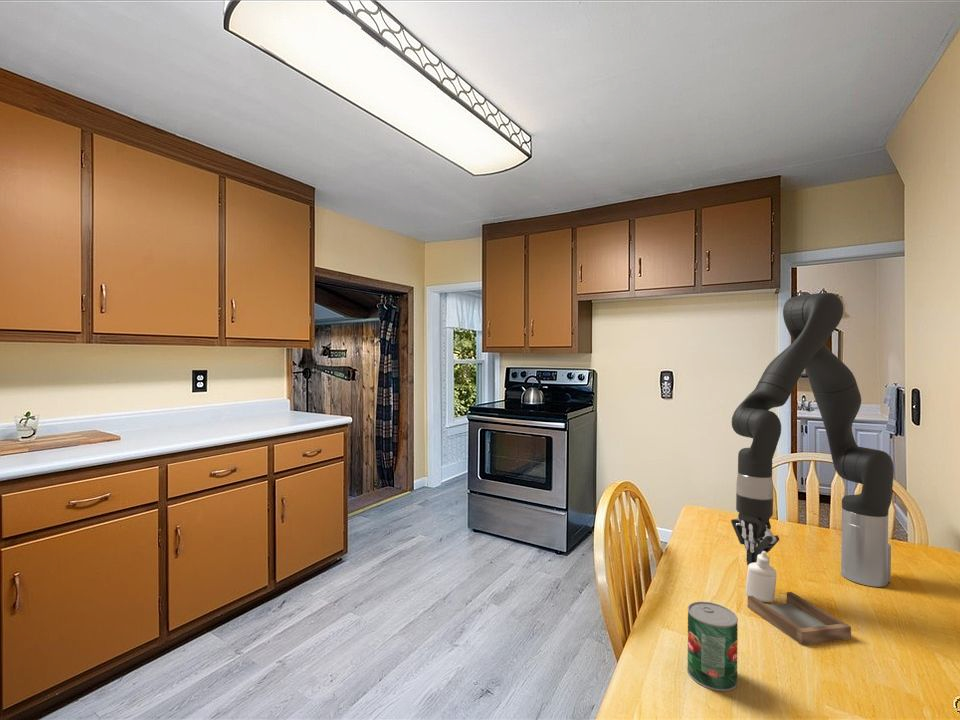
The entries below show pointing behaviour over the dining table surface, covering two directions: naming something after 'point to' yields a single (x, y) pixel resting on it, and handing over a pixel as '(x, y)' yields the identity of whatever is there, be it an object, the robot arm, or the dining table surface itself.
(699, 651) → the canned tomato
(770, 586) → the eye dropper bottle
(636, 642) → the dining table surface
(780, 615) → the u rest
